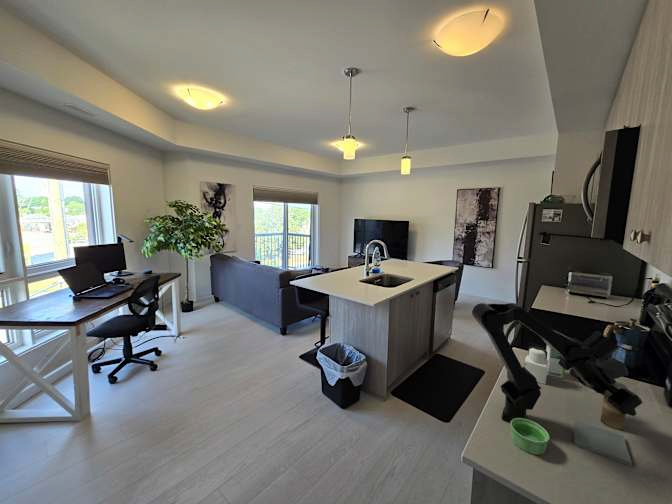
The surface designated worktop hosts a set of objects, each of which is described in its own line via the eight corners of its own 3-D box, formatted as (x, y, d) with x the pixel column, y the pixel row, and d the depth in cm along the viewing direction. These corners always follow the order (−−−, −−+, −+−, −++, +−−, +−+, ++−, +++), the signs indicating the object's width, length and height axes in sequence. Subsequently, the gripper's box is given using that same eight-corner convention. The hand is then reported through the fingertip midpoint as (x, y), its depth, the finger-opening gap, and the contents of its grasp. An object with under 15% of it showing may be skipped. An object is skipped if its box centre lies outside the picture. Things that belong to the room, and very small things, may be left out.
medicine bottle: (525, 370, 116) (528, 342, 114) (546, 376, 111) (549, 348, 110) (523, 377, 110) (526, 349, 109) (545, 384, 106) (549, 355, 104)
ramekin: (540, 463, 72) (542, 447, 72) (503, 440, 80) (504, 426, 79) (552, 446, 78) (554, 432, 77) (516, 426, 85) (518, 413, 84)
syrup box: (546, 375, 112) (550, 341, 110) (543, 368, 118) (547, 335, 116) (564, 379, 110) (568, 344, 108) (560, 371, 115) (565, 338, 113)
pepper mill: (624, 432, 83) (630, 391, 81) (601, 424, 86) (607, 385, 84) (621, 422, 87) (627, 383, 85) (599, 415, 90) (604, 377, 88)
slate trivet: (631, 466, 72) (631, 462, 72) (575, 444, 78) (575, 441, 78) (622, 439, 80) (623, 436, 80) (572, 421, 87) (573, 418, 87)
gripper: (640, 368, 74) (677, 408, 75) (583, 338, 93) (613, 370, 94) (605, 394, 76) (642, 433, 77) (555, 359, 94) (585, 391, 95)
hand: (619, 404), depth 85 cm, fingers open, 9 cm apart
